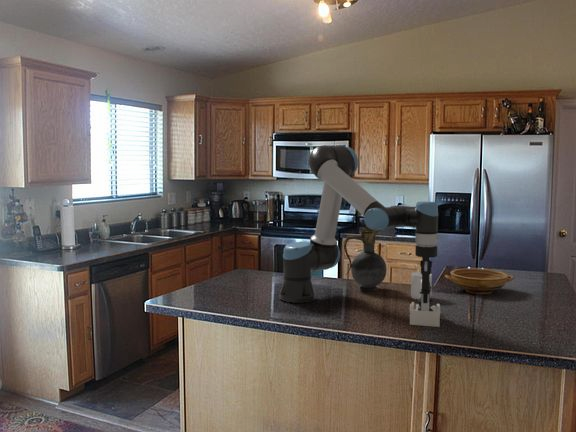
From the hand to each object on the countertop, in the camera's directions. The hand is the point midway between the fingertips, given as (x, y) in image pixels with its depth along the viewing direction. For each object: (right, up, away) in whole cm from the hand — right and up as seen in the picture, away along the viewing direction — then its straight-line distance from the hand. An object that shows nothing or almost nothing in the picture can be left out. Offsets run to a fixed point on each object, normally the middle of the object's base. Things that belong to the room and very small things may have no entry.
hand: (425, 309), depth 187 cm
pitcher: (-15, 0, +48) cm, 50 cm away
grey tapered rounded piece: (0, -1, 0) cm, 1 cm away
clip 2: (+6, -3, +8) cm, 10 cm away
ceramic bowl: (+35, 0, +44) cm, 57 cm away
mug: (+6, -1, +31) cm, 31 cm away
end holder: (0, -4, -1) cm, 4 cm away
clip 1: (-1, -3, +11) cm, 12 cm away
